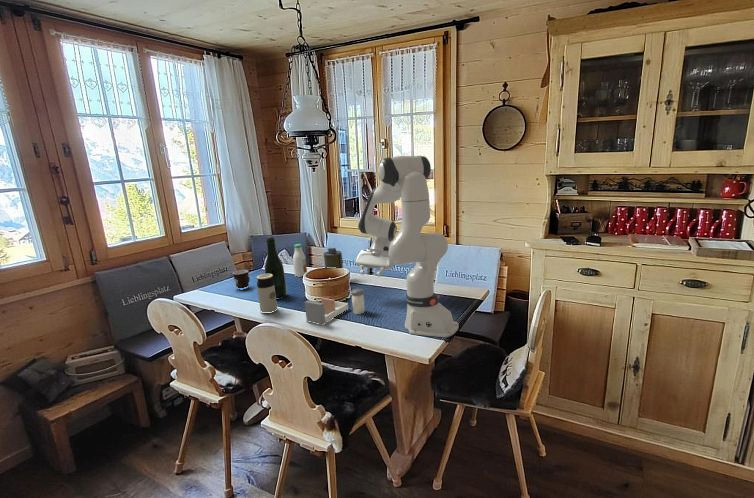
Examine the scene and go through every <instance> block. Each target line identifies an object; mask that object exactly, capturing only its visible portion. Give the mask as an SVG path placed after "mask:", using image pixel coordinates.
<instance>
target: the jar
mask: <svg viewBox="0 0 754 498" xmlns="http://www.w3.org/2000/svg"><path fill="white" fill-rule="evenodd" d="M350 294H351V304H352V314H354V313H355V314H354V315H357V314H359V315H362V314H361V313H363V314H365V313H364V312H365V311H366V309H365V296H364V294H365V293H364V289H363V288H353V289H352V290H350Z"/></svg>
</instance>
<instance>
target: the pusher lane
mask: <svg viewBox="0 0 754 498" xmlns="http://www.w3.org/2000/svg"><path fill="white" fill-rule="evenodd" d="M304 309H305V319H306V322H307V321H311V322H315V323H319V324H324V323H326V322H327V321H329V320H331V319H332V318H334V317H336V316H337V315H339V314H341V313H342V314H344V313H345V312H347V311H349V310H348V309H350V307H349V303H348V302H343V301H335V310H334V311H333V312H331V313H329V314H327V313H325V312H324V303H322V302H318V301H312V300H306V301H304ZM346 310H347V311H346ZM344 311H345V312H344ZM343 312H344V313H343ZM342 314H341V315H342ZM339 316H340V315H339ZM337 317H338V316H337ZM337 317H336V318H337ZM334 319H335V318H334ZM331 321H332V320H331ZM329 322H330V321H329ZM326 324H327V323H326ZM324 325H325V324H324Z"/></svg>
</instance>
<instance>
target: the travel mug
mask: <svg viewBox="0 0 754 498" xmlns="http://www.w3.org/2000/svg"><path fill="white" fill-rule="evenodd" d="M272 276H273V275H272V274H265V273H263V274H259V275H257V276H256V279H257V282H256V286H257V294H258V302H259V308H260V309H259V310H260V312H261V311H262V312H272V311H275V310H276V309H277V310H278V303H277V300H276V294H275V286H274V281H273V279H272ZM275 312H276V311H275Z"/></svg>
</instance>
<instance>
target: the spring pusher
mask: <svg viewBox="0 0 754 498" xmlns="http://www.w3.org/2000/svg"><path fill="white" fill-rule="evenodd" d="M320 300H321V301H320V303H324V312H325V313H327V314H329V313H331V312H333V311H334V310H335V299H334V298H326V297H321V298H320Z"/></svg>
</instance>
